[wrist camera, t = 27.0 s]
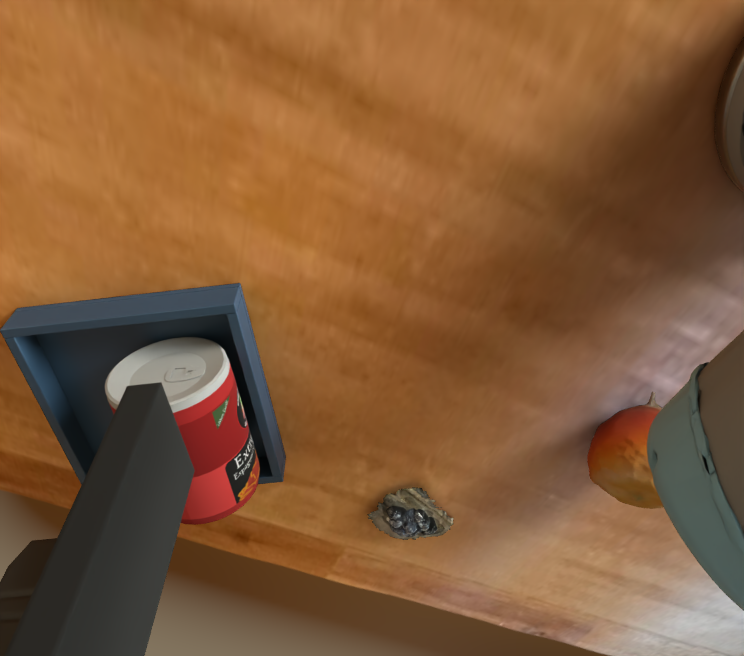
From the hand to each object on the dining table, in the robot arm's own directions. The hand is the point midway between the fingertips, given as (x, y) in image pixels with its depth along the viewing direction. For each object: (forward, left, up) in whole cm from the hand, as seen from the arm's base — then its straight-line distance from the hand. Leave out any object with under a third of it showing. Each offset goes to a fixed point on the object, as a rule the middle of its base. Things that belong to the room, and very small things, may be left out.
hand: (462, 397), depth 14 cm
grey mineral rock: (-21, +29, -27) cm, 45 cm away
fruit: (-30, +12, -27) cm, 42 cm away
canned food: (-3, +30, -22) cm, 38 cm away
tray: (+3, +27, -27) cm, 38 cm away
